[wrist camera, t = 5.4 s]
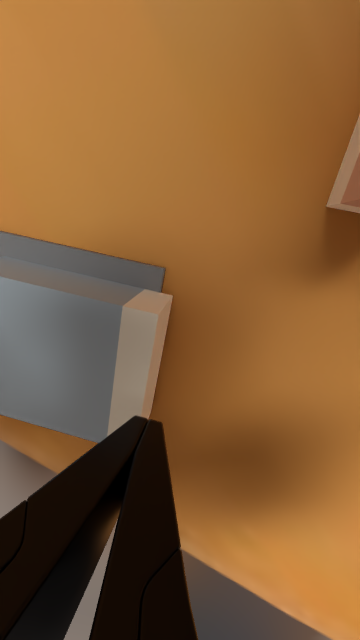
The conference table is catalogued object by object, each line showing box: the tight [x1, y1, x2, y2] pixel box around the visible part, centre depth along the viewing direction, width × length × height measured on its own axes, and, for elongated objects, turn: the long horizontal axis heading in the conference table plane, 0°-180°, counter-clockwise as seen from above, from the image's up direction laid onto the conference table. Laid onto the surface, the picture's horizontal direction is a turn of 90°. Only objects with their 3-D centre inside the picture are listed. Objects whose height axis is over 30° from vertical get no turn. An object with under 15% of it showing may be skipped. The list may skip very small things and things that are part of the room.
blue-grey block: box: [0, 256, 173, 443], centre depth 11 cm, size 2×6×8 cm
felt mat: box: [0, 231, 165, 293], centre depth 12 cm, size 8×8×1 cm
